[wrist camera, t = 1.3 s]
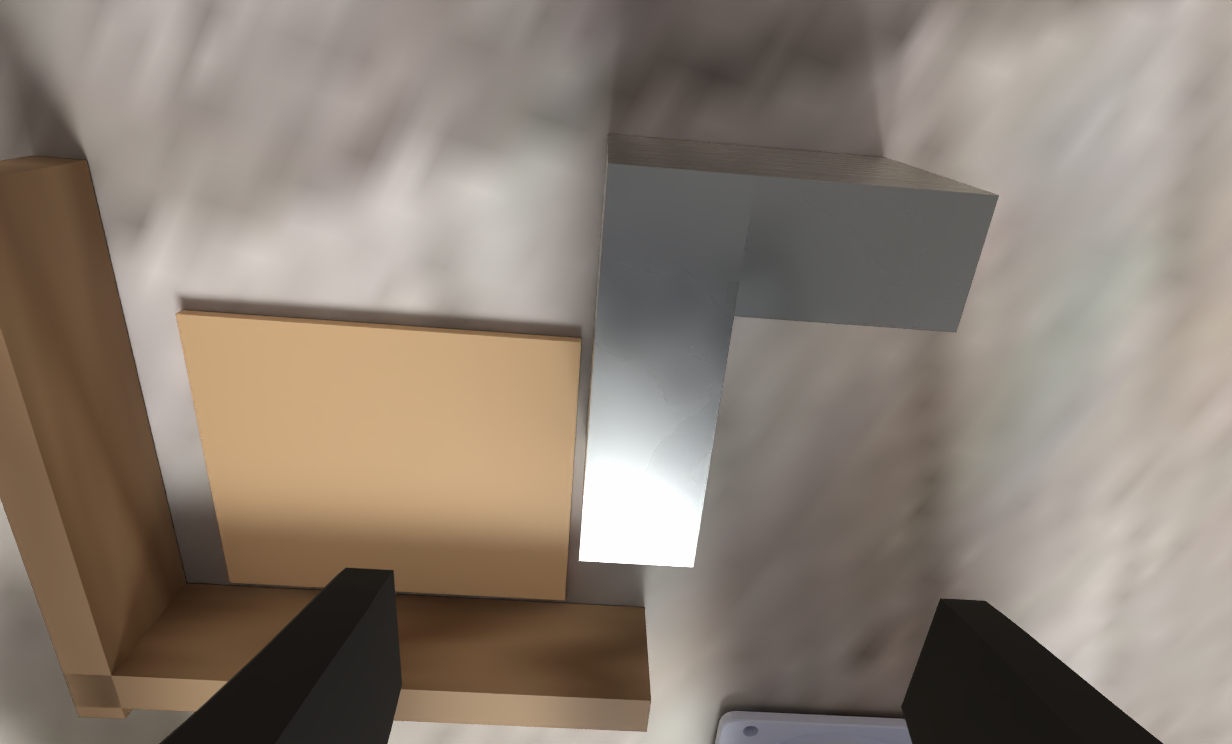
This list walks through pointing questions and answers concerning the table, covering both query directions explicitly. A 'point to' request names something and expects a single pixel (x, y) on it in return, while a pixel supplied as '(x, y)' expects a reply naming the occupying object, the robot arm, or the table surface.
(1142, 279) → the table surface
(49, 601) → the walls
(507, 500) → the pad
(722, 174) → the bracket
